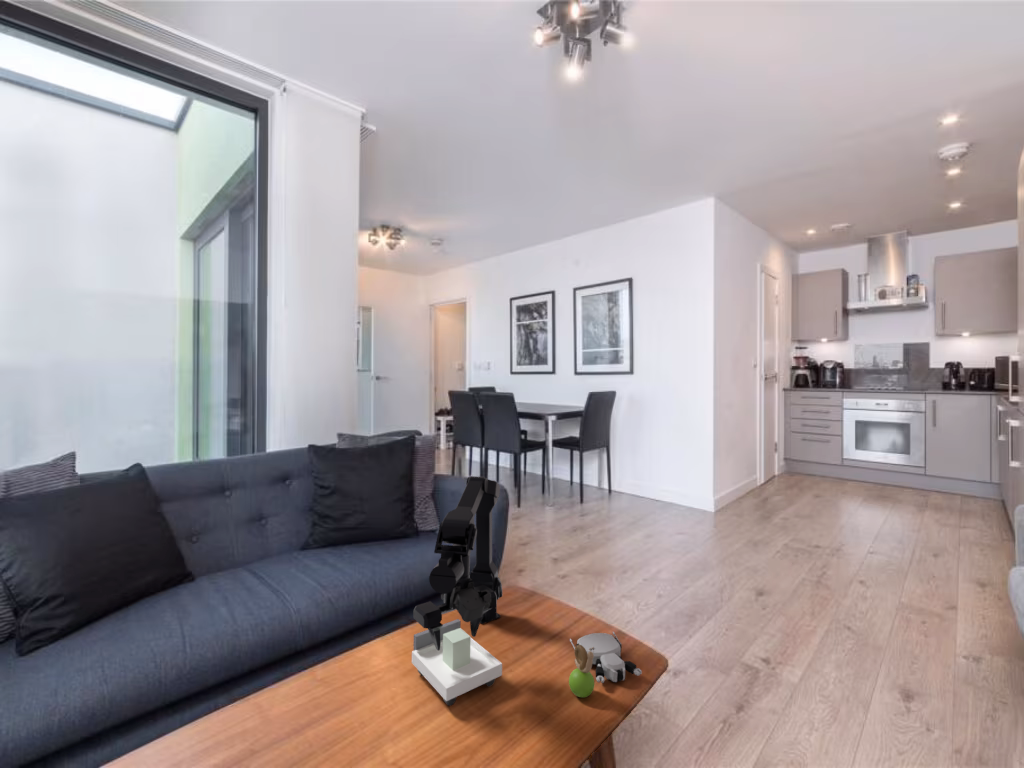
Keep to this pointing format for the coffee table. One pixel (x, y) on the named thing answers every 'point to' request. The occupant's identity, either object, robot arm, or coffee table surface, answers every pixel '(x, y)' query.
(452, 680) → the tray
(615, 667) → the robot toy
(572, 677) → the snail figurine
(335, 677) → the coffee table surface
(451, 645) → the part block
